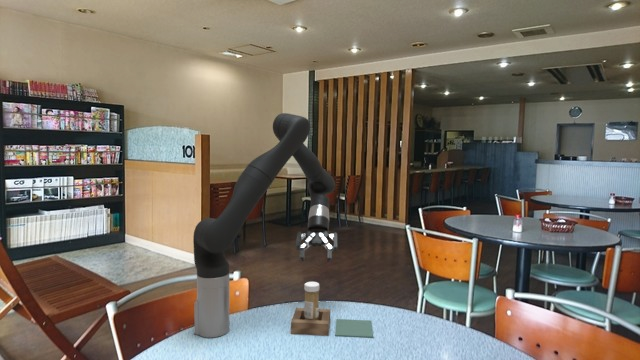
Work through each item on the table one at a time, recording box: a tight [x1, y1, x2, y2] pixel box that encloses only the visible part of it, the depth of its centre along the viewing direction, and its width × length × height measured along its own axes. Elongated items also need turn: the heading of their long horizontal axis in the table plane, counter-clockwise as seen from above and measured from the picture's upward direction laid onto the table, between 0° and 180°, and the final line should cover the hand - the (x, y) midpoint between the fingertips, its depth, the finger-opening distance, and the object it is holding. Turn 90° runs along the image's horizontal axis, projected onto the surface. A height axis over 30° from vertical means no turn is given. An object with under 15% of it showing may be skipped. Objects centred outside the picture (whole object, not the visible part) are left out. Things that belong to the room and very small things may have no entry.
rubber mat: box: [334, 318, 374, 339], centre depth 119 cm, size 11×11×1 cm
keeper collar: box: [290, 307, 331, 337], centre depth 119 cm, size 11×11×4 cm
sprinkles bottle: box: [303, 281, 320, 320], centre depth 119 cm, size 5×5×13 cm
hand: (315, 260), depth 130 cm, fingers open, 8 cm apart
